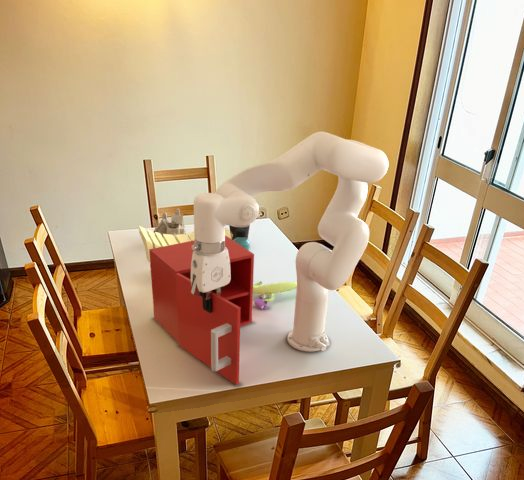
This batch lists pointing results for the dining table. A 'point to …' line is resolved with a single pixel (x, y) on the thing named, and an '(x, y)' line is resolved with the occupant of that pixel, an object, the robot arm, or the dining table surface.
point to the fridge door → (209, 330)
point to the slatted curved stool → (165, 239)
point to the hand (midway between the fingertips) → (210, 309)
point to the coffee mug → (233, 228)
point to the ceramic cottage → (171, 225)
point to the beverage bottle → (242, 238)
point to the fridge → (179, 261)
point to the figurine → (271, 291)
